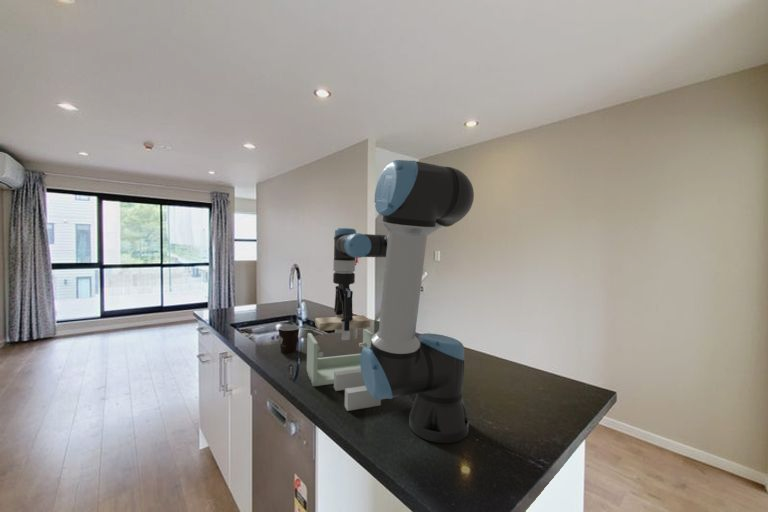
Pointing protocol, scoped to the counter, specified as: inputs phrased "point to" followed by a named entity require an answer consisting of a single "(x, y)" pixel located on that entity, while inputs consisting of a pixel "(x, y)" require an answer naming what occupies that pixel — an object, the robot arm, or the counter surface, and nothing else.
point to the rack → (354, 389)
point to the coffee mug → (288, 338)
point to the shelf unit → (331, 361)
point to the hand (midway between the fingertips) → (342, 335)
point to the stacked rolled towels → (336, 323)
